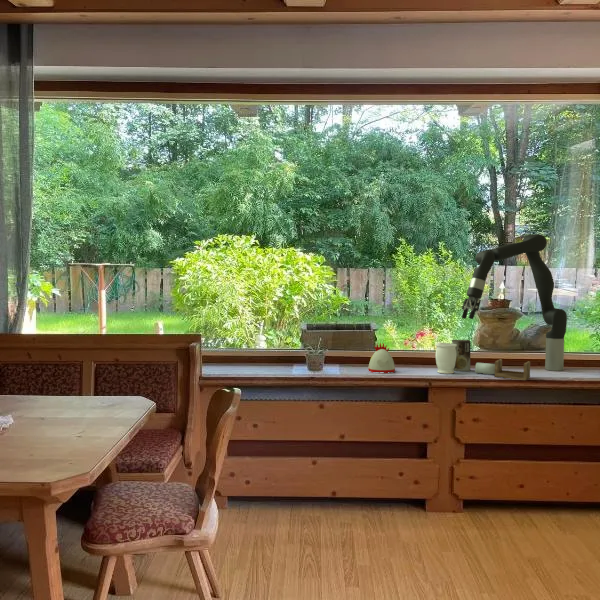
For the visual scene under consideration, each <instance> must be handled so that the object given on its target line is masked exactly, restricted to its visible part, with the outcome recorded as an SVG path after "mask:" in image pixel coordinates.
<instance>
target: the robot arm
mask: <svg viewBox="0 0 600 600" xmlns="http://www.w3.org/2000/svg"><path fill="white" fill-rule="evenodd" d="M547 242H548V241H547V239H546V236H544V235H543V234H539V233H534V234H527V235H525V236H524V237H523V239H522V241H519V242H514V243H509V244H505V245H500V246H497V247H495V248H490V249H484V250H481V251H478V252H477V253H476V255H475V262H476V264H478V265H479V266H478V267H476V268H474V271H473V274H472V276H471V280H470V281H469V285H468V287H467V288H468V289H467V291H466V296H467V297H468V298H464V301H463V305H462V307H461V310H462V315H461V318H462V319H464V320H465V319H467V315H468V312H469V310H470V313H469V315H468V319H470V320H474V318H475V314H476V313H477V312H478V311H479V309H480V306H481V302H482V301H481V299H482V297H483V293H484V290H485V287H486V286H485V285H486V282H487V278H488V274H489V273H490V271H491V270H492V267H493V266H494V264H495V262H497V261H499V262H500V261H503V260H506V259H510V258H512V257H515V256H519V255H523V254H525V256H526V259H527V260H528V263H529V267H530V270H531V272H532V276H533V281H534V284H535V287H536V290H537V293H538V298H539V302H540V307H541V313H542V318H543V321H544V322H545V324H547V325H549V326H551V329H550V330H549V331H547V332H546V334H545V358H544V359H545V360H544V361H545V362H544V363H545V364H544V368H545V369H544V370H546V371H553V372H557V371H558V372H561V371H564V365H565V364H564V361H565V358H564V357H565V335H566V333H567V325H568V324H567V323H568V317H567V312H566V311H565V310H564V309H562V308H555V306H554V302H553V293H554V289H555V281H554V278H553V275H552V271H551V270H550V268H549V267H548V265H546V263H545V262H544V261H543V259H542V257H541V255H540V252H541V251H543V250H545V248H546V247H547V244H548V243H547Z"/></svg>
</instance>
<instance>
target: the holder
mask: <svg viewBox="0 0 600 600" xmlns="http://www.w3.org/2000/svg"><path fill="white" fill-rule="evenodd" d="M494 364H495V375H494V378H495V377H504V378H503V379H506V378H511V379H510V380H517V381H518V380H519V381H520V380H521V381H527V380H528V379H530V378H529V377H531V361H529V360H528V361H526V362H524V363H523V371H517V370H504V369H503V359H501V358H500V359H497V360H495V361H494Z"/></svg>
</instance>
